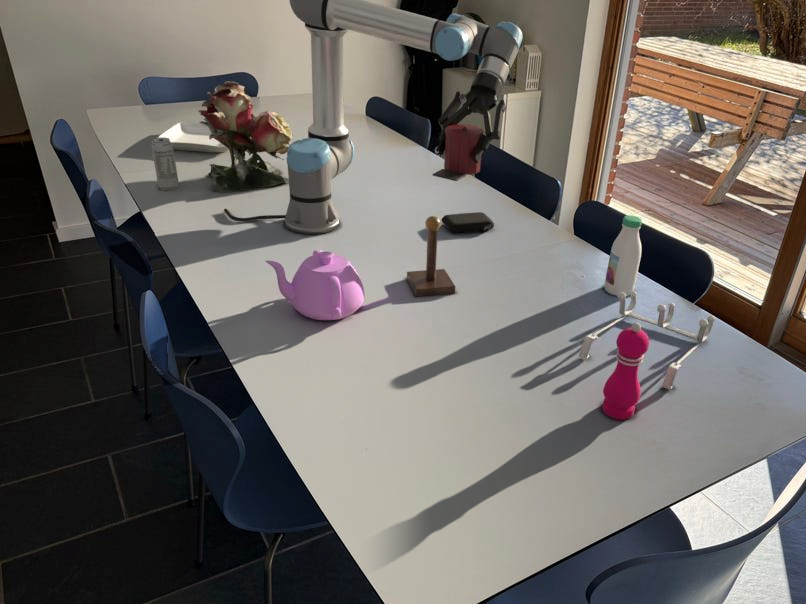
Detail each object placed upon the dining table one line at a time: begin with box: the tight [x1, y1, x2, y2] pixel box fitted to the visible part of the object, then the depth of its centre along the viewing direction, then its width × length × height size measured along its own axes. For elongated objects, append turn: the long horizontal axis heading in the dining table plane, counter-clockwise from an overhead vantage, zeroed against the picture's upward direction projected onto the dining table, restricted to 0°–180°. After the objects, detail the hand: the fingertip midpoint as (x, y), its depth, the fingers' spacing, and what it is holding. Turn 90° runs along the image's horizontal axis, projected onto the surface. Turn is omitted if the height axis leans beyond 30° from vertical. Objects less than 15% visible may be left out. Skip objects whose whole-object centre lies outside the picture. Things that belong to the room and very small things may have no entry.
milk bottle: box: [603, 214, 643, 297], centre depth 183 cm, size 8×8×20 cm
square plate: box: [156, 121, 230, 154], centre depth 265 cm, size 27×27×4 cm
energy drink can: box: [150, 136, 180, 191], centre depth 223 cm, size 6×6×15 cm
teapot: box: [265, 249, 366, 321], centre depth 165 cm, size 22×22×14 cm
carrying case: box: [440, 211, 495, 234], centre depth 216 cm, size 11×3×15 cm
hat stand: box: [406, 215, 456, 297], centre depth 178 cm, size 10×10×19 cm
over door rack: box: [578, 290, 716, 391], centre depth 162 cm, size 22×29×10 cm
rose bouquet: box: [197, 80, 293, 193], centre depth 232 cm, size 26×29×30 cm
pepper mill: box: [602, 322, 650, 420], centre depth 138 cm, size 7×7×20 cm
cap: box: [432, 123, 484, 182], centre depth 181 cm, size 14×10×11 cm, turn 154°
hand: (457, 156), depth 181 cm, fingers closed on cap, 9 cm apart
